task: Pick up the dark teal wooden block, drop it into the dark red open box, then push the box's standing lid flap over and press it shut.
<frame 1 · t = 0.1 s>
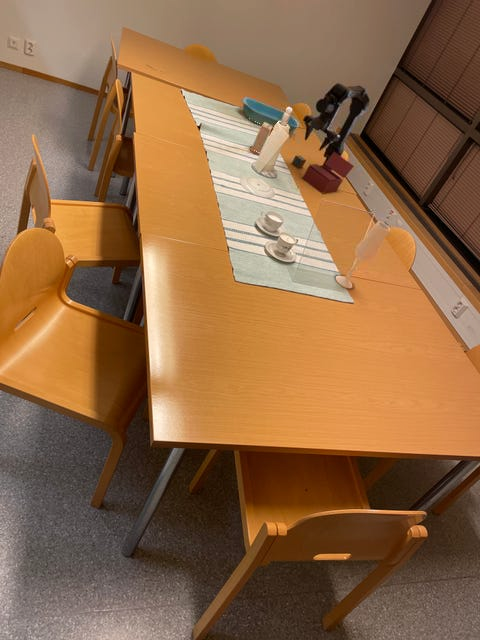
hand: (312, 145, 225), 15 cm above the table, tool pointing down, fingers open, 9 cm apart
dark red open box: (319, 184, 234), on the table
champagne flute: (343, 282, 167), on the table
flap: (339, 165, 234), point 10 cm above the table, hinge at 115.0°
casserole dish: (266, 123, 275), on the table
supplement box: (255, 151, 231), on the table
block: (296, 165, 241), on the table
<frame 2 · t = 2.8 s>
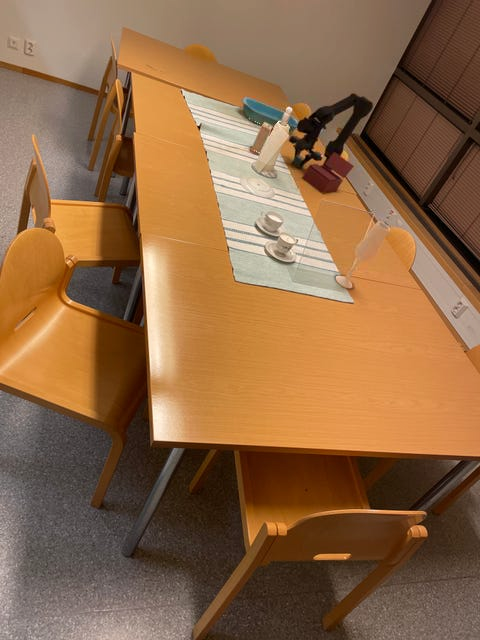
hand: (297, 163, 240), 1 cm above the table, tool pointing down, fingers closed on block, 4 cm apart
block: (296, 165, 241), on the table, touching gripper
everything else where it was.
when the fingers open (8 cm above the table, at t = 6.7 s): block drops 5 cm and tips over, resting on dark red open box.
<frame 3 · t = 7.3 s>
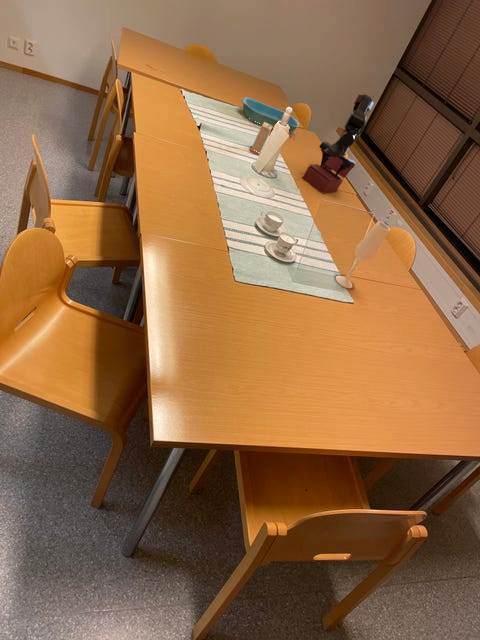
hand: (328, 170, 230), 8 cm above the table, tool pointing down, fingers open, 9 cm apart
block: (322, 179, 232), point 3 cm above the table, tilted 90°, touching dark red open box
everything else where it was.
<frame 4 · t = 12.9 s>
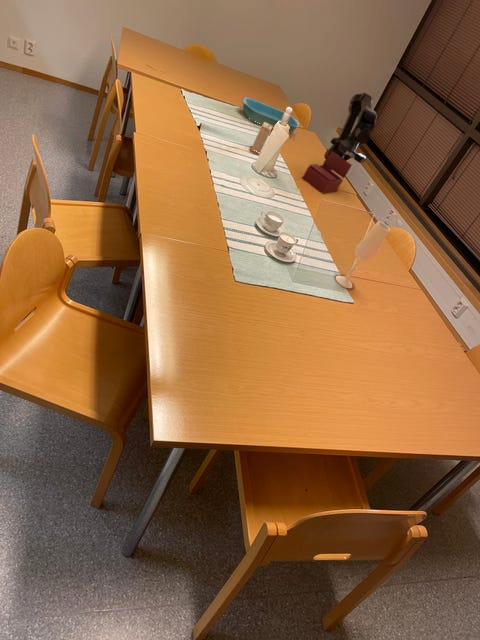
hand: (339, 165, 235), 10 cm above the table, tool pointing down, fingers closed
flap: (337, 164, 233), point 11 cm above the table, hinge at 88.3°, touching gripper
everything else where it was.
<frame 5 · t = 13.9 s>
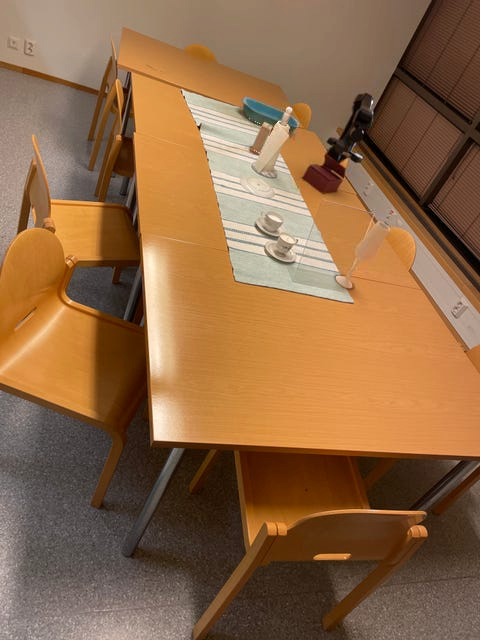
hand: (335, 166, 232), 10 cm above the table, tool pointing down, fingers closed
flap: (334, 166, 232), point 10 cm above the table, hinge at 49.1°, touching gripper
everything else where it was.
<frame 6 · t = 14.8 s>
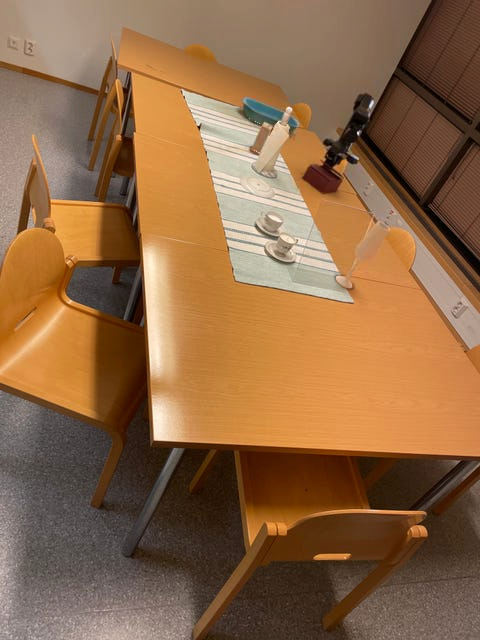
hand: (331, 167, 230), 9 cm above the table, tool pointing down, fingers closed, pressing on flap
flap: (332, 169, 232), point 8 cm above the table, hinge at 20.8°, touching gripper
everything else where it was.
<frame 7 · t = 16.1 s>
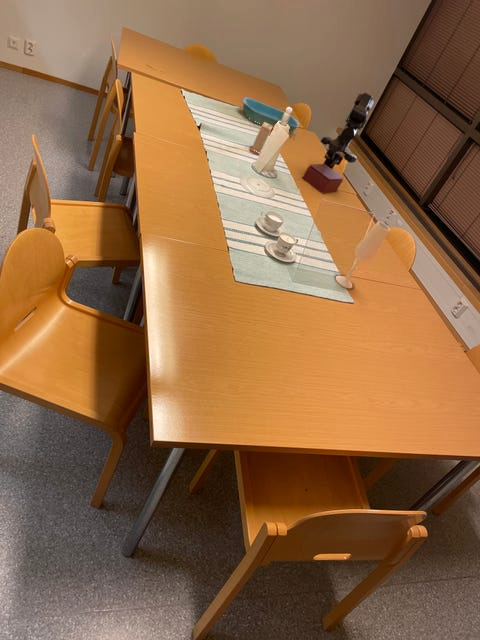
hand: (329, 165, 231), 9 cm above the table, tool pointing down, fingers closed
flap: (330, 171, 232), point 7 cm above the table, hinge at -0.3°
everything else where it was.
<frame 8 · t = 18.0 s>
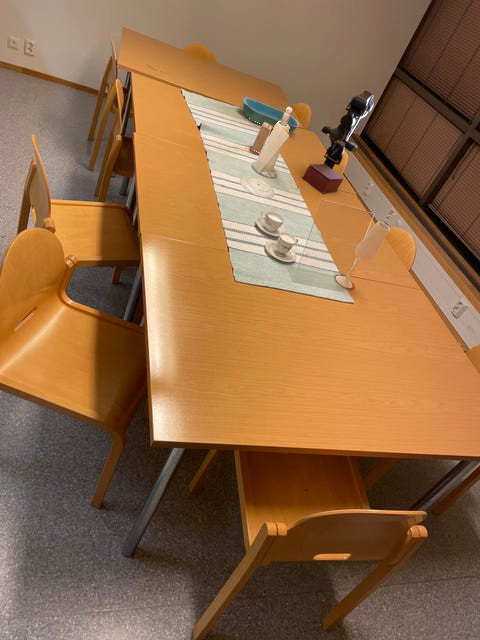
hand: (330, 155, 231), 13 cm above the table, tool pointing down, fingers closed
nothing on the table moved.
at the end: block inside the target area in the dark red open box (0.4 cm from its centre), point 2.7 cm above the dark red open box's base; flap at +0° (first picture: +115°) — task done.
